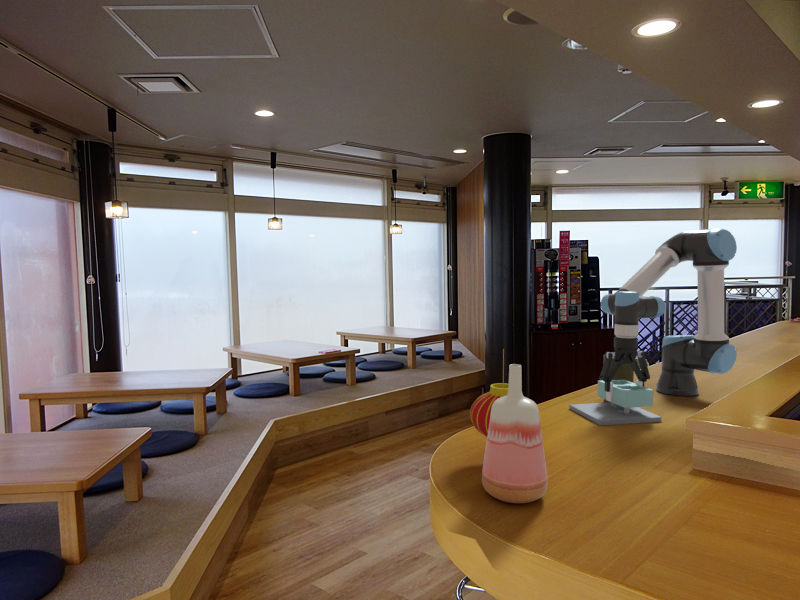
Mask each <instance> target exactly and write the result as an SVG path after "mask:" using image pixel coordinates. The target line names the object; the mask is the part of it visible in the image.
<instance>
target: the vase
mask: <svg viewBox="0 0 800 600" xmlns="http://www.w3.org/2000/svg"><path fill="white" fill-rule="evenodd" d="M508 369H509V371H508V384H509V391H508V394H507V395H506V396H503V397H501V398H498V399H497V400H495V401H494V403H493V405H492V408H491V415H490V421H489V428H488V435H487V437H486V442H485V449H484V455H483V463H482V469H481V472H482V473H481V484H482V487H483V489H484V490H485V492H486V493H488V494H489V495H490V496H491V497H493V498H495V499H497V500H499V501H502V502H505V503H511V504H529V503H532V502H535V501H537V500H539V499H541V498H542V497H543V496H544V495H545V494H546V492H547V489H548V481H549V480H548V473H547V472H548V471H547V464H546V456H545V449H544V441H543V439H544V438H543V434H542V426H541V418H540V411H539V407H538V404H537V403H536V402H535V401H534V400H532V399H530V398H528V397H526V396H524V394H523V391H522V390H523V389H522V388H523V385H522V384H523V382H522V381H523V379H522V377H523V376H522V365H521V364H517V363H512V364H509V366H508Z"/></svg>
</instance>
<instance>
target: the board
mask: <svg viewBox="0 0 800 600" xmlns="http://www.w3.org/2000/svg"><path fill="white" fill-rule="evenodd" d="M613 385H617V384H613ZM624 390H630V389H624ZM569 409H570V410H571V411H573V412H575V413H577V414H578V415H580V416H582V417H583V418H586V419H588V420H589V421H591V422H593V423H595V424H597V425H599V426H614V425H631V424H644V423H645V424H646V423H659V422H662V416H661V415H660V416H659V415H658V414H656V413H652V412H651V411H649V410H646V409H644V408H642V407H628V408H624V407H622V406H619V405H617V404H615V403H613V402H594V403H575V404H569Z"/></svg>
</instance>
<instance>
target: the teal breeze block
mask: <svg viewBox="0 0 800 600" xmlns="http://www.w3.org/2000/svg"><path fill="white" fill-rule="evenodd" d="M611 382H612V383H613V384H617V385H613V403H615V404H617V405H619V406H622V407H624V408H628V407H639V408H642V407H643V408H644V407H653V404H654V390H653V389H652V388H649V387H646V386H645V385H644V386H641V385H638V384H636V382H633V383H632V382H630V381H627V380H612V381H611ZM604 389H605V382H604V381H603V380H597V397H599V398H601V399H603V400H604V399H606V391H605V390H604ZM624 389H630V390H624Z"/></svg>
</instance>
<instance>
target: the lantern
mask: <svg viewBox="0 0 800 600" xmlns="http://www.w3.org/2000/svg"><path fill="white" fill-rule="evenodd" d="M504 354H505V348H503V349H502V356H503V357H502V358H503V359H502V383H501V382H500V383H499V382H498V383H492V384H490V390H489V391H488V392H486V393H483V394H481V395H479V396H478V397H477V398H476V400H474V402H473V403H472V404H471V407H470V410H469V417H470V421H471V423H472V424H473V427H474V428H475V430H477V432H478V433H480V434H481V435H483V436H484V437H486V438H487V435H488V428H489V421H490V415H491V408H492V405H493V403H494V401H495V400H497V399H498V398H501V397H503V396H506V395H507V394H508V391H509V383H504V378H505V377H504V375H505V373H504V371H505V370H504V369H505V367H504V366H505V358H504V356H505V355H504Z"/></svg>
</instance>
